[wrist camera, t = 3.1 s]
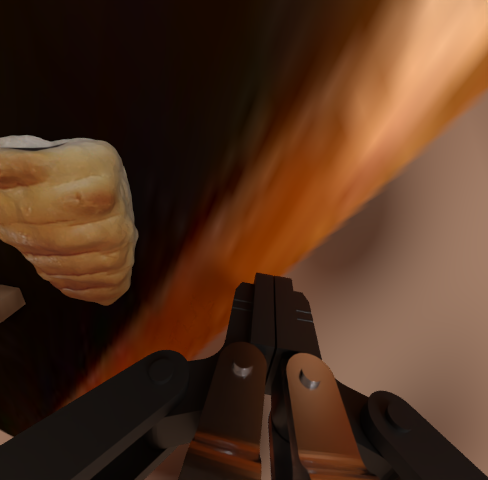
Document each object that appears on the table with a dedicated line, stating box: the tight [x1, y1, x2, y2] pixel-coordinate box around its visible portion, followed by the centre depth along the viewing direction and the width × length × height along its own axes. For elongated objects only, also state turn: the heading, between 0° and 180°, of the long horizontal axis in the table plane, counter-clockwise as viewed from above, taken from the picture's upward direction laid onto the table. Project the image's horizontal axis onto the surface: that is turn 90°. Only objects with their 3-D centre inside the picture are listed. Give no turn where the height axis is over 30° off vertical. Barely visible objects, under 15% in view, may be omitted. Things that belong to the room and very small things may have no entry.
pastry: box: [0, 135, 138, 305], centre depth 12 cm, size 9×7×4 cm
